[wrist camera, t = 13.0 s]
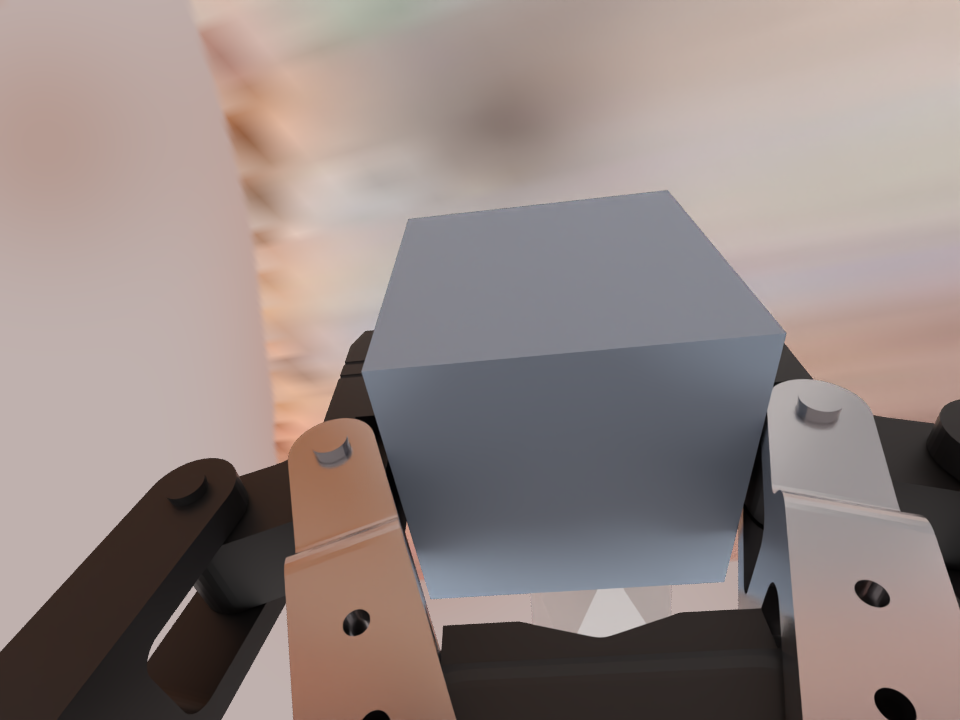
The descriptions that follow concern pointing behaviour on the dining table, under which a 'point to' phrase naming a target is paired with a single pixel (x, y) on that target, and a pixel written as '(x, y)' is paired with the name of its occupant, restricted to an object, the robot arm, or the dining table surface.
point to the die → (601, 609)
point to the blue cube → (570, 396)
